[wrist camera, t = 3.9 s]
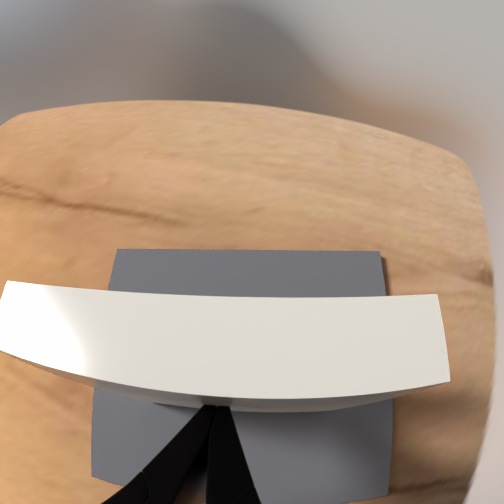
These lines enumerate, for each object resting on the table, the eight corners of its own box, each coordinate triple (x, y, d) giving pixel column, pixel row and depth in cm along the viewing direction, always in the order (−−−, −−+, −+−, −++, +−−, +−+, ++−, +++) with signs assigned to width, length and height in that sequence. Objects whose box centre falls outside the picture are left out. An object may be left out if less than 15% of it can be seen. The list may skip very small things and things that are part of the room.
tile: (327, 410, 14) (450, 380, 4) (149, 401, 15) (-11, 346, 5) (327, 377, 15) (435, 287, 5) (153, 370, 16) (8, 275, 6)
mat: (384, 492, 12) (387, 495, 12) (96, 474, 13) (91, 476, 13) (377, 255, 19) (379, 251, 19) (120, 252, 20) (117, 248, 20)
